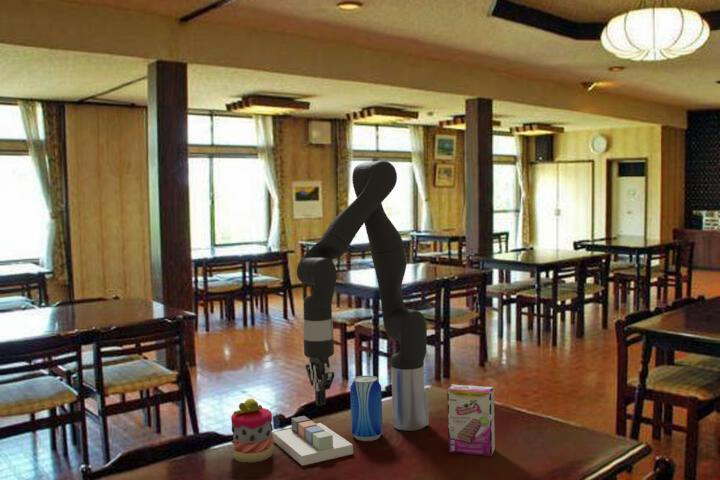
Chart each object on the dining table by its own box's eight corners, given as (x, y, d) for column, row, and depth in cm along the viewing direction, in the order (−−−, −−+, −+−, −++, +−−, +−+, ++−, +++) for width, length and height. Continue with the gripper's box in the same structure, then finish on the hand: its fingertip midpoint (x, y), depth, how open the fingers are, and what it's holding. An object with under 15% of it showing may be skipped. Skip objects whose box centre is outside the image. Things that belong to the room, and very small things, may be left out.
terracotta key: (311, 435, 183) (311, 420, 182) (317, 439, 179) (317, 424, 179) (298, 437, 181) (298, 423, 181) (304, 442, 177) (303, 427, 177)
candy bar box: (447, 453, 170) (446, 389, 169) (451, 446, 175) (450, 383, 174) (492, 457, 167) (491, 391, 166) (495, 449, 172) (494, 386, 170)
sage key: (326, 446, 174) (326, 430, 174) (333, 450, 171) (332, 435, 170) (313, 449, 172) (312, 433, 172) (319, 453, 169) (318, 438, 169)
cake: (228, 452, 177) (225, 395, 176) (267, 444, 181) (265, 389, 180) (237, 466, 167) (234, 406, 166) (279, 458, 171) (276, 399, 170)
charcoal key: (304, 429, 187) (304, 415, 187) (310, 433, 183) (309, 419, 183) (292, 432, 185) (291, 418, 185) (297, 436, 182) (296, 422, 181)
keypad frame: (320, 431, 190) (320, 422, 190) (353, 453, 172) (352, 444, 172) (273, 441, 184) (273, 432, 183) (302, 465, 166) (301, 456, 166)
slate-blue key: (319, 440, 178) (318, 425, 178) (325, 444, 175) (324, 429, 175) (305, 443, 177) (305, 428, 176) (311, 447, 173) (311, 432, 173)
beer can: (380, 442, 180) (377, 383, 178) (349, 441, 181) (346, 382, 180) (385, 431, 188) (383, 374, 187) (355, 430, 189) (353, 374, 188)
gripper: (343, 339, 166) (345, 409, 167) (321, 330, 177) (323, 396, 178) (315, 343, 162) (317, 414, 163) (294, 334, 174) (296, 400, 175)
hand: (320, 404), depth 171 cm, fingers closed
